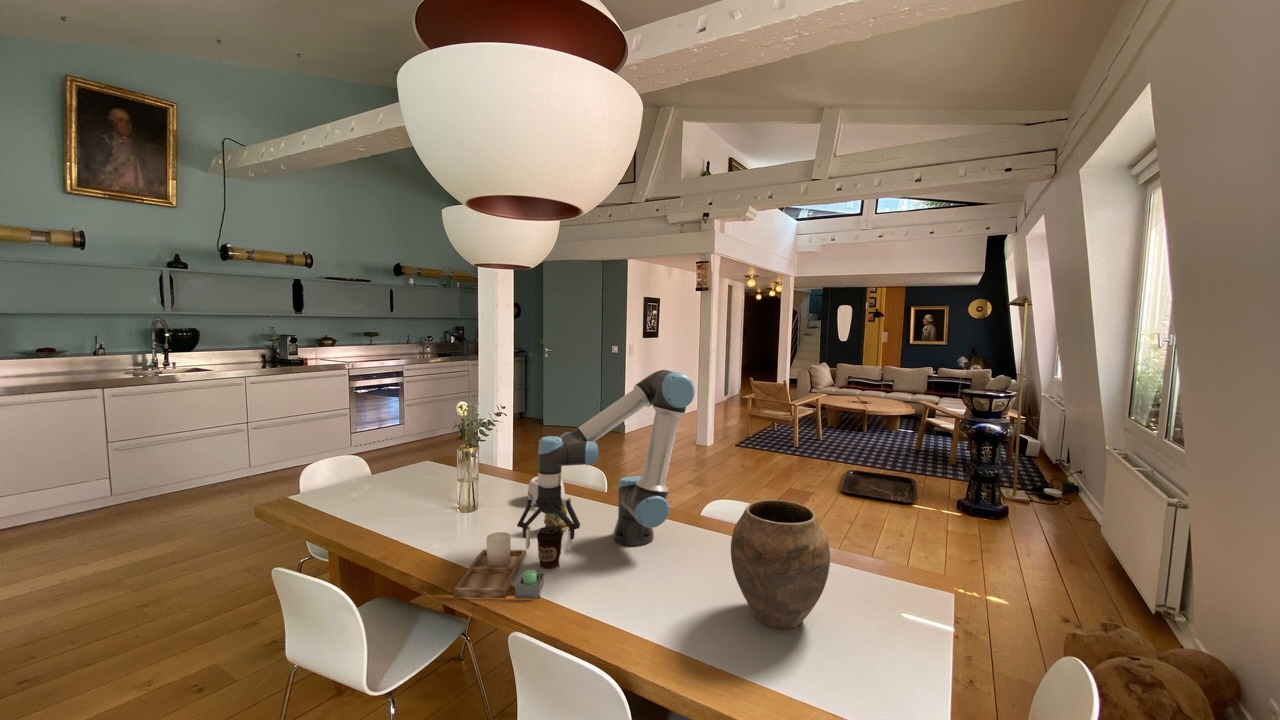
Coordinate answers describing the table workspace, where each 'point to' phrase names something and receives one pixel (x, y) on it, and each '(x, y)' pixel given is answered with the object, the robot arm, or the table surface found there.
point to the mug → (534, 489)
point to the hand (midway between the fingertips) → (548, 548)
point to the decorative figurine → (556, 519)
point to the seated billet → (498, 549)
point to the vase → (780, 561)
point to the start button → (529, 576)
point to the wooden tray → (488, 577)
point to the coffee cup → (549, 546)
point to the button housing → (529, 588)
